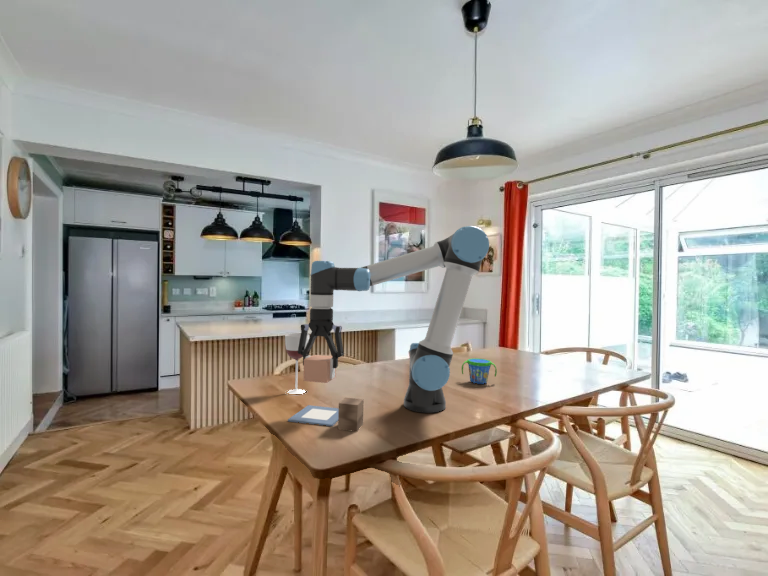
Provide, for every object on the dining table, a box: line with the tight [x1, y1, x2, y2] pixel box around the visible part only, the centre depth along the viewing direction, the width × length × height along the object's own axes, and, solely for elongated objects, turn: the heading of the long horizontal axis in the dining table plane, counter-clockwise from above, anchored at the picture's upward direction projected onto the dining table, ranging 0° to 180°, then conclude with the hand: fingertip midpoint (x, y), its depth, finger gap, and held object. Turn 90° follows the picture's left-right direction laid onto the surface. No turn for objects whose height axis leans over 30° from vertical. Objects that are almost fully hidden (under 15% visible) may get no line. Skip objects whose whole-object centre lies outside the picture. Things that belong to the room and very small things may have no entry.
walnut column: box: [337, 397, 364, 432], centre depth 118 cm, size 6×6×8 cm
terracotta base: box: [303, 354, 337, 384], centre depth 127 cm, size 8×8×7 cm
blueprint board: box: [287, 404, 339, 427], centre depth 127 cm, size 15×15×1 cm
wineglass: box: [284, 332, 310, 395], centre depth 154 cm, size 9×10×23 cm
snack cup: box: [461, 357, 498, 385], centre depth 176 cm, size 16×10×10 cm
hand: (319, 376), depth 127 cm, fingers closed on terracotta base, 8 cm apart
